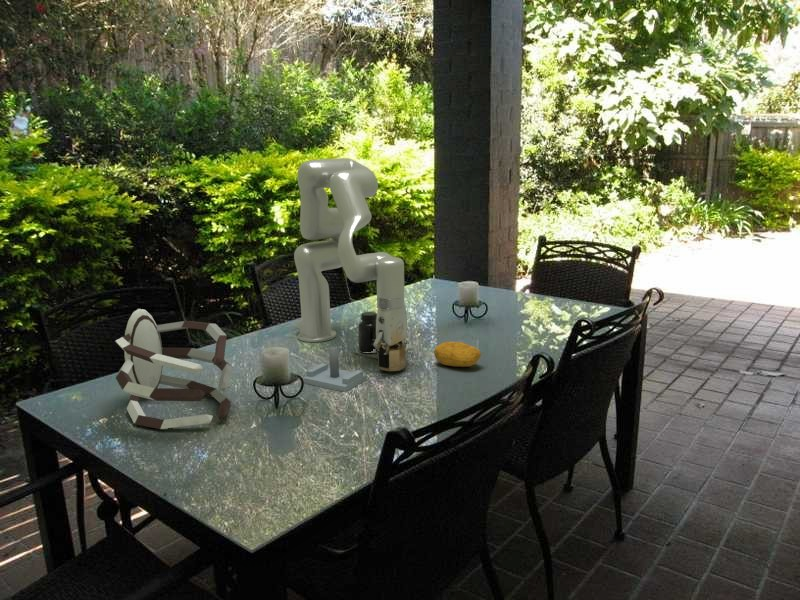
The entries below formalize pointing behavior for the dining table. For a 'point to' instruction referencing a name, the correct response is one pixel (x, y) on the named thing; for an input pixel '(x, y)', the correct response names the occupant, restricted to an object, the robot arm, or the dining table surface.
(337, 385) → the shaft stand
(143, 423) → the disc with segmented arms
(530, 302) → the dining table surface
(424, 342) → the dining table surface
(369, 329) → the supplement bottle
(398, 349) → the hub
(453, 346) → the potato
